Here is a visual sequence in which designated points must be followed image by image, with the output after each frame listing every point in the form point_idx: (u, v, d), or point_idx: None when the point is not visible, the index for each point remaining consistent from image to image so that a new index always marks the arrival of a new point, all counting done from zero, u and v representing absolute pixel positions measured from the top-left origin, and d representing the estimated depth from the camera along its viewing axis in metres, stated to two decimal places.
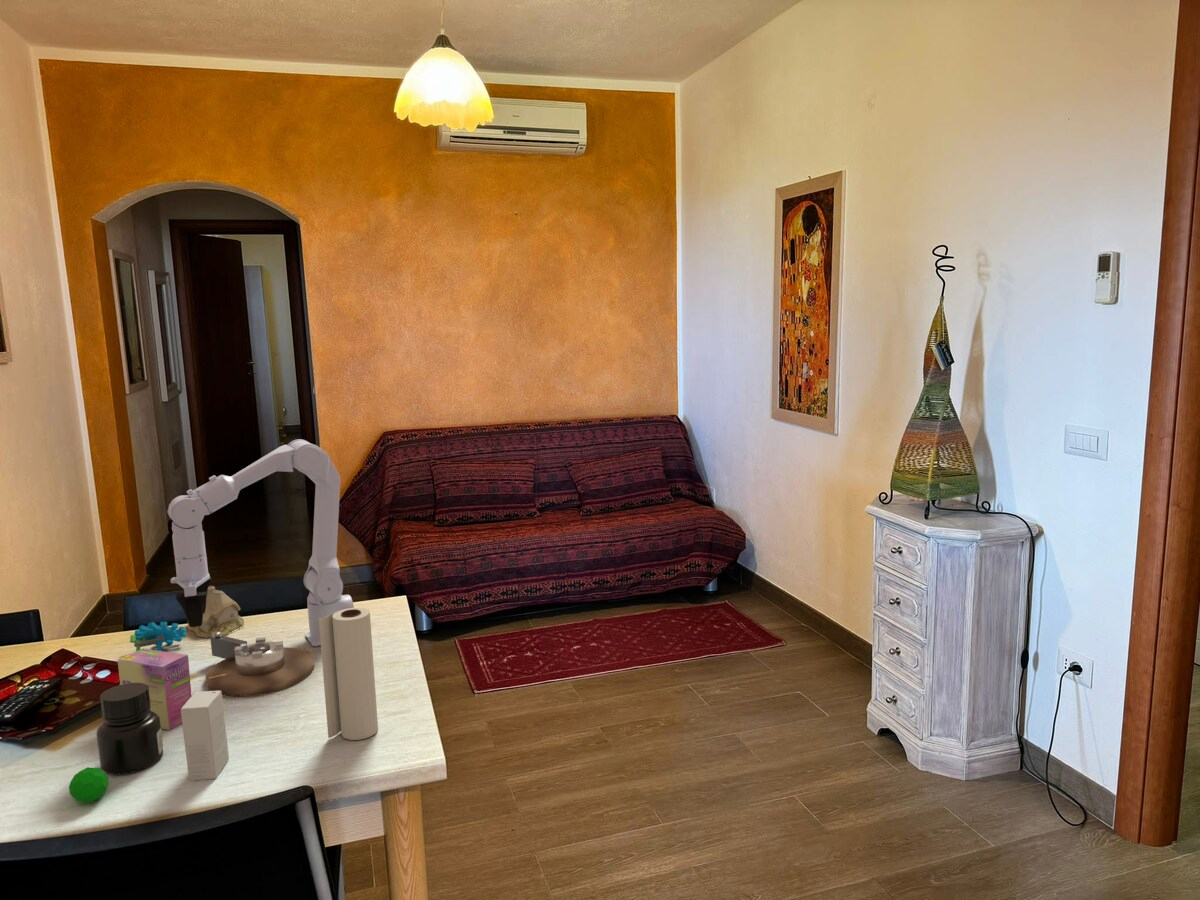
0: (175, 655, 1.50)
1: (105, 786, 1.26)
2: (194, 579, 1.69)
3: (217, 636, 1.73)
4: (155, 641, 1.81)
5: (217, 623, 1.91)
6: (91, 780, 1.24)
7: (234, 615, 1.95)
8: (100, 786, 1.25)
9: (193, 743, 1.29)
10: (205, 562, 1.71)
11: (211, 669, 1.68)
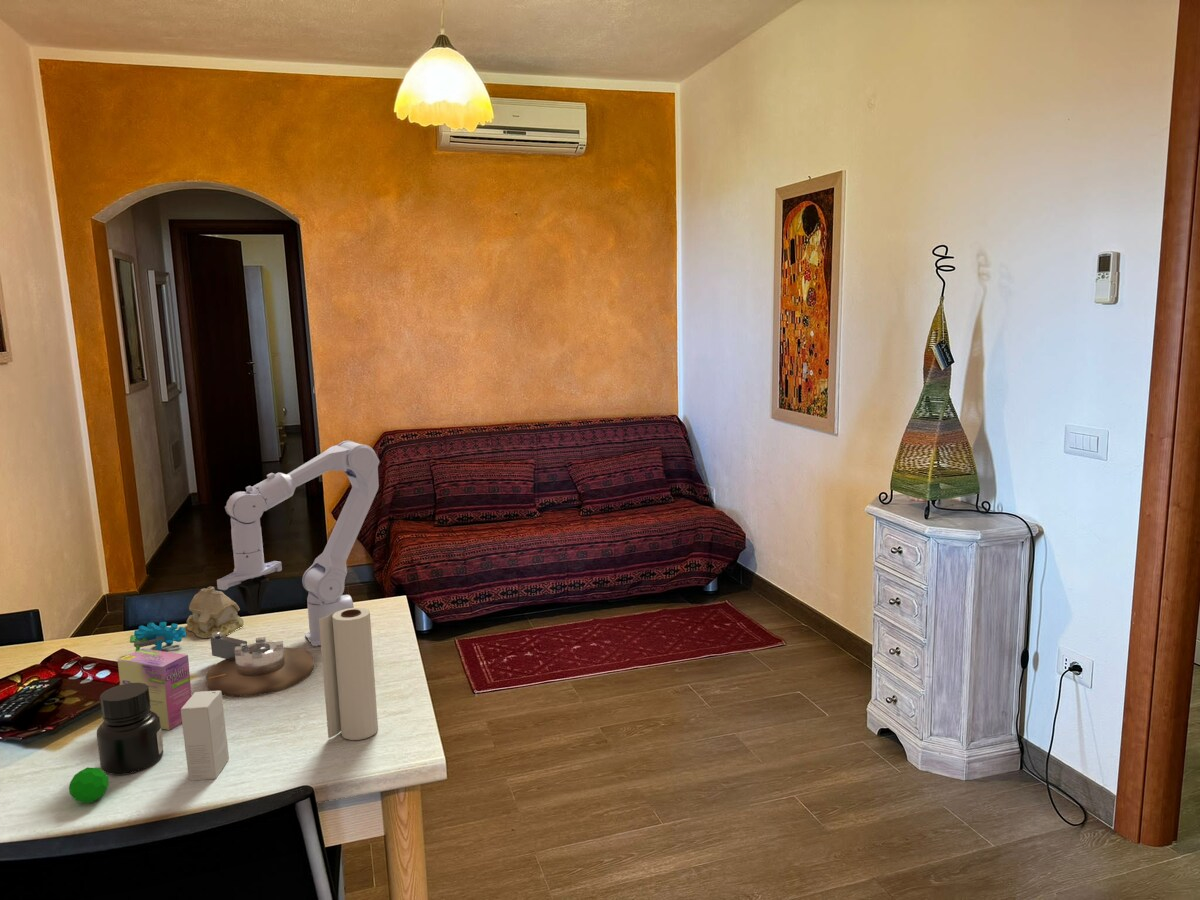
0: (175, 655, 1.50)
1: (105, 786, 1.26)
2: (240, 574, 1.73)
3: (217, 636, 1.73)
4: (154, 642, 1.81)
5: (217, 623, 1.91)
6: (91, 780, 1.24)
7: (234, 615, 1.95)
8: (100, 786, 1.25)
9: (192, 743, 1.29)
10: (253, 560, 1.73)
11: (211, 669, 1.68)
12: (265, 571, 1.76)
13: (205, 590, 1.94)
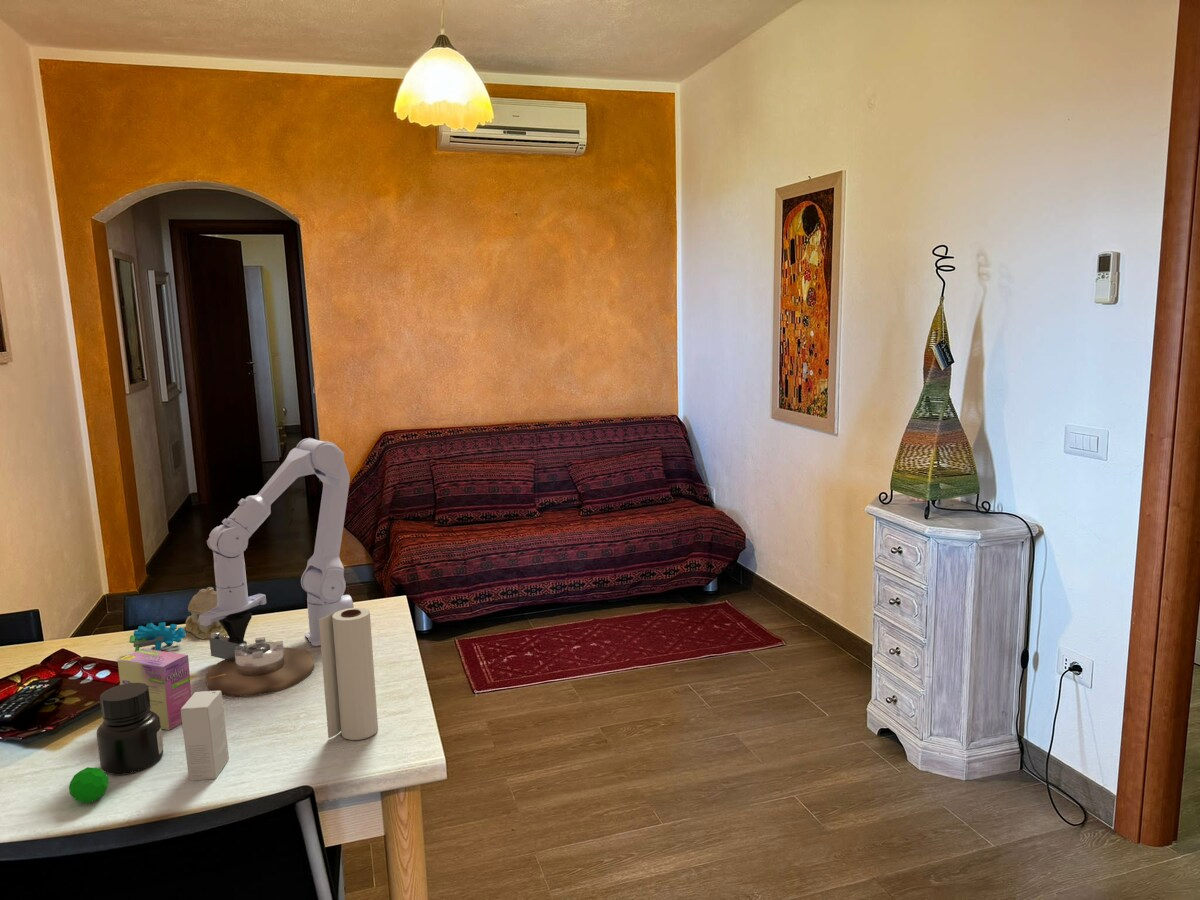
0: (175, 655, 1.50)
1: (105, 786, 1.26)
2: (223, 609, 1.70)
3: (216, 636, 1.73)
4: (154, 642, 1.81)
5: (216, 624, 1.91)
6: (91, 780, 1.24)
7: None
8: (100, 786, 1.25)
9: (192, 743, 1.29)
10: (237, 594, 1.70)
11: (211, 669, 1.68)
12: (249, 605, 1.73)
13: (204, 591, 1.94)
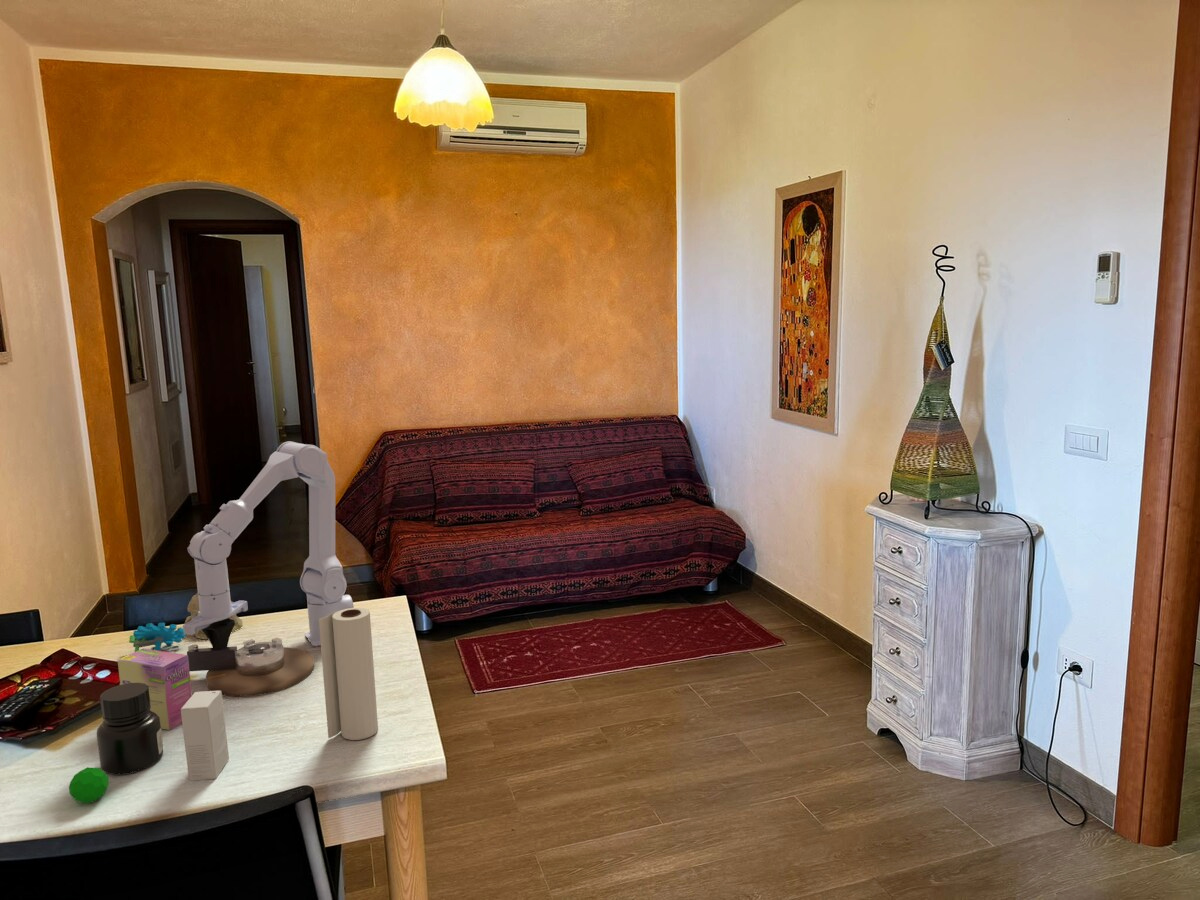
0: (175, 655, 1.50)
1: (105, 786, 1.26)
2: (206, 617, 1.66)
3: (196, 649, 1.67)
4: (153, 642, 1.81)
5: None
6: (91, 780, 1.24)
7: (233, 616, 1.94)
8: (100, 786, 1.25)
9: (193, 743, 1.29)
10: (221, 602, 1.66)
11: None
12: (232, 612, 1.69)
13: None
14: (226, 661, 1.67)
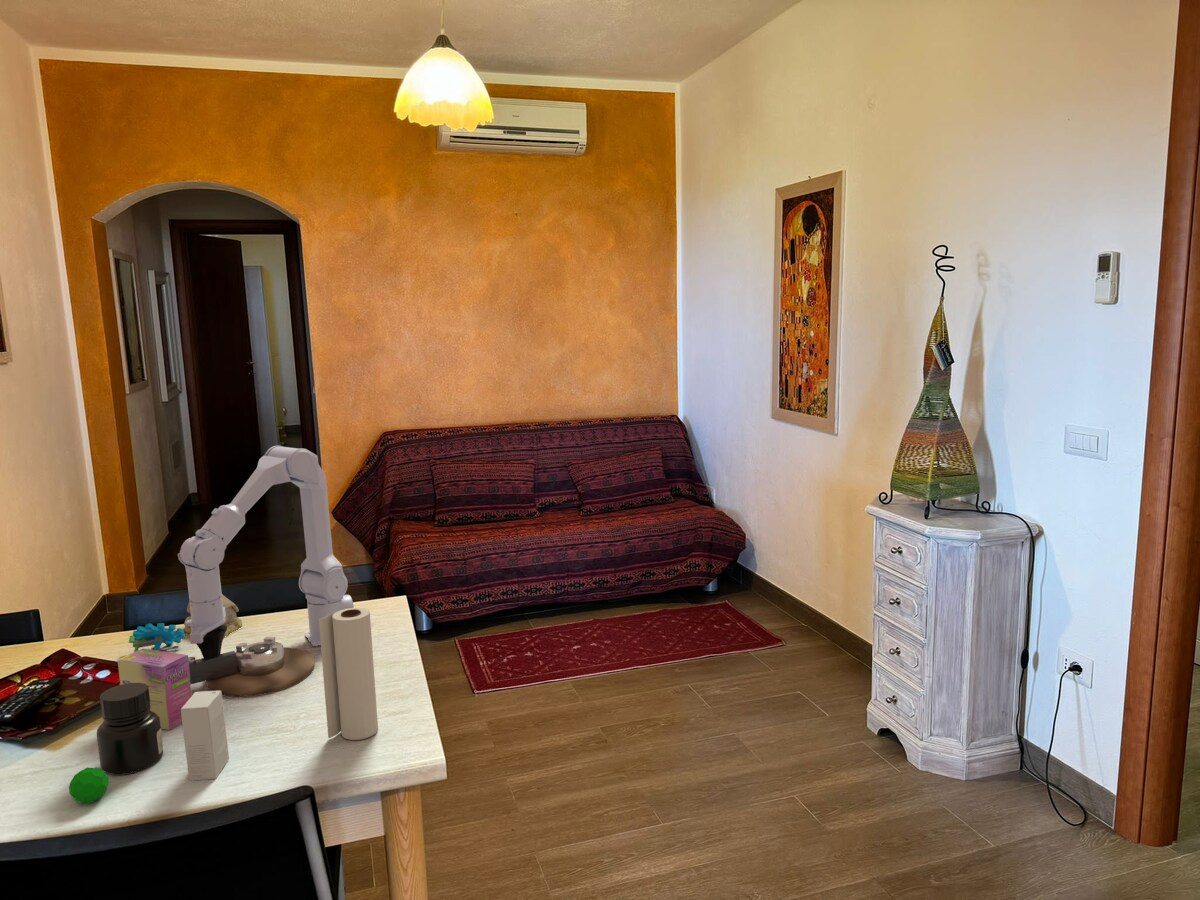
0: (175, 655, 1.50)
1: (105, 786, 1.26)
2: (206, 624, 1.62)
3: (195, 660, 1.61)
4: (153, 642, 1.80)
5: None
6: (91, 780, 1.24)
7: (232, 616, 1.94)
8: (100, 786, 1.25)
9: (193, 743, 1.29)
10: (219, 606, 1.63)
11: None
12: None
13: None
14: (227, 667, 1.65)
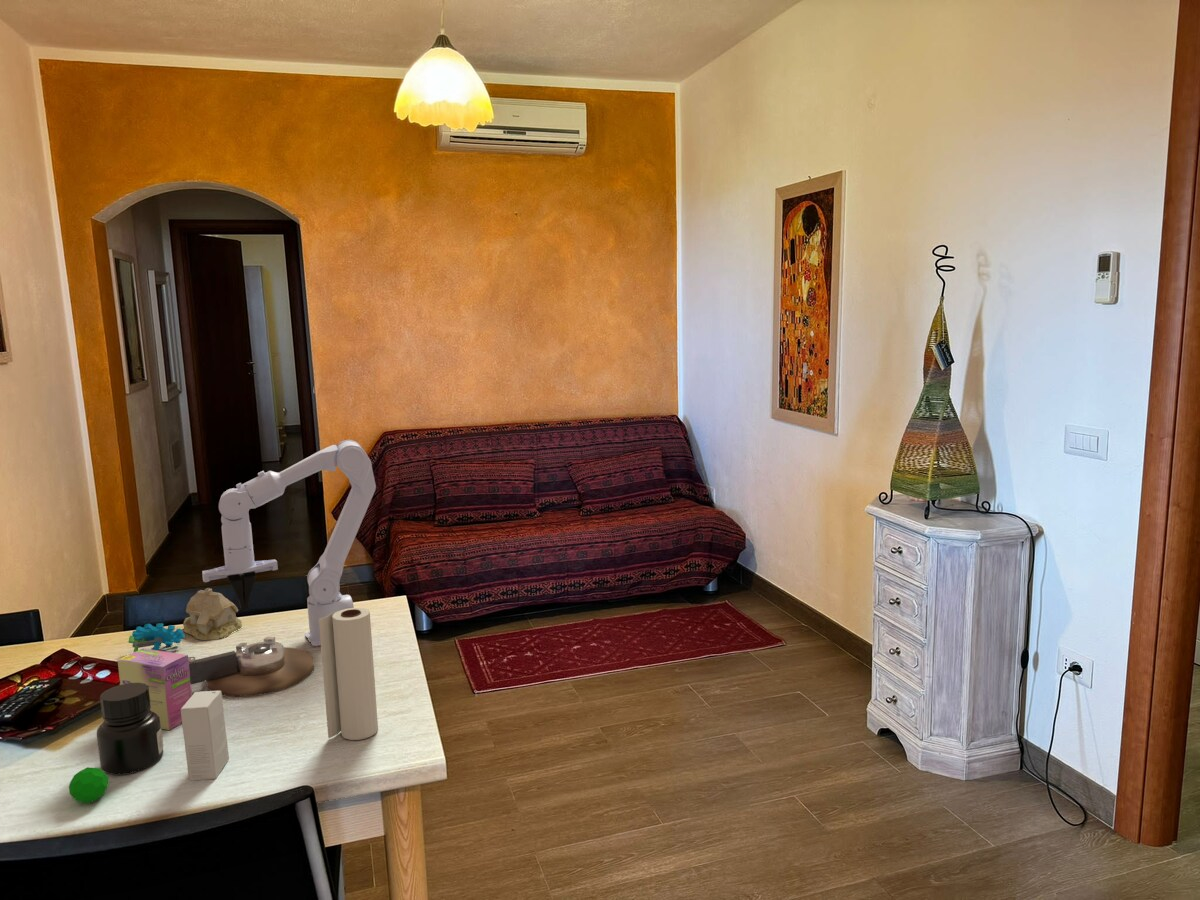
0: (175, 655, 1.50)
1: (105, 786, 1.26)
2: (226, 568, 1.77)
3: (195, 660, 1.61)
4: (152, 643, 1.80)
5: (216, 625, 1.90)
6: (91, 780, 1.24)
7: (232, 617, 1.94)
8: (100, 786, 1.25)
9: (192, 743, 1.29)
10: (236, 556, 1.76)
11: None
12: (250, 569, 1.78)
13: (202, 592, 1.93)
14: (227, 667, 1.65)
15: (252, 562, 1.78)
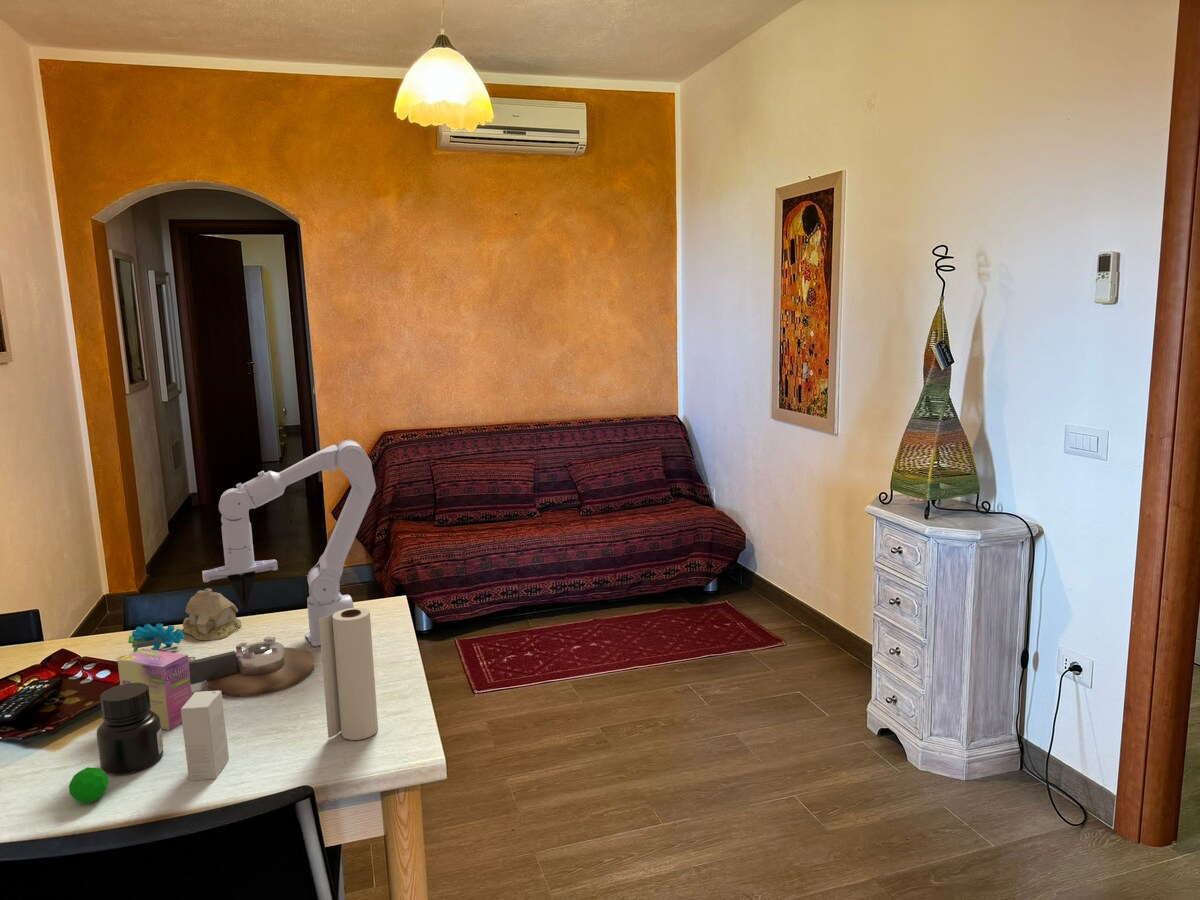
0: (175, 655, 1.50)
1: (105, 786, 1.26)
2: (226, 568, 1.77)
3: (195, 660, 1.61)
4: (152, 643, 1.80)
5: (216, 625, 1.90)
6: (91, 780, 1.24)
7: (232, 617, 1.94)
8: (100, 786, 1.25)
9: (193, 743, 1.29)
10: (236, 556, 1.76)
11: None
12: (250, 569, 1.78)
13: (202, 592, 1.93)
14: (227, 667, 1.65)
15: (252, 562, 1.78)
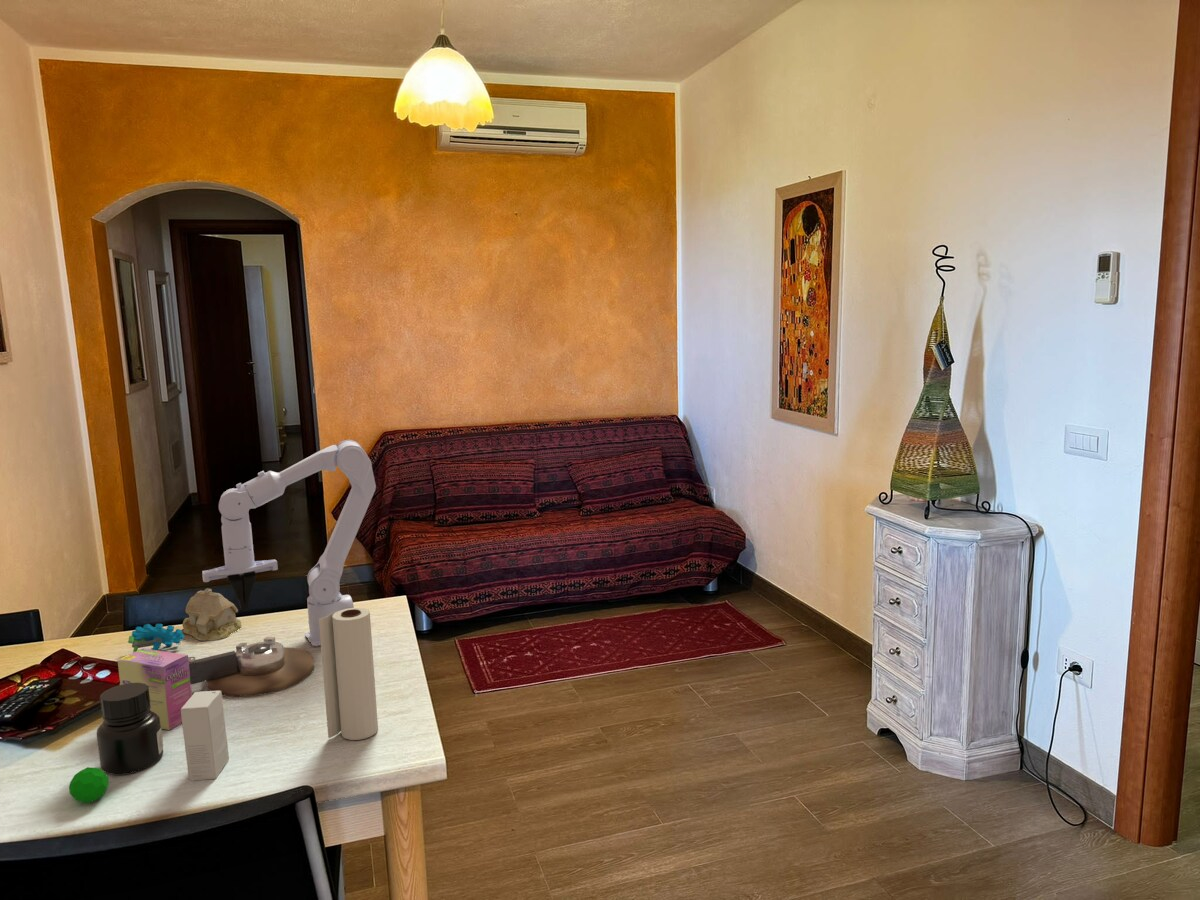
0: (175, 655, 1.50)
1: (105, 786, 1.26)
2: (226, 568, 1.77)
3: (195, 660, 1.61)
4: (152, 643, 1.80)
5: (216, 625, 1.90)
6: (91, 780, 1.24)
7: (232, 617, 1.93)
8: (100, 786, 1.25)
9: (192, 743, 1.29)
10: (236, 556, 1.76)
11: None
12: (250, 569, 1.78)
13: (202, 592, 1.93)
14: (227, 667, 1.65)
15: (252, 562, 1.78)
